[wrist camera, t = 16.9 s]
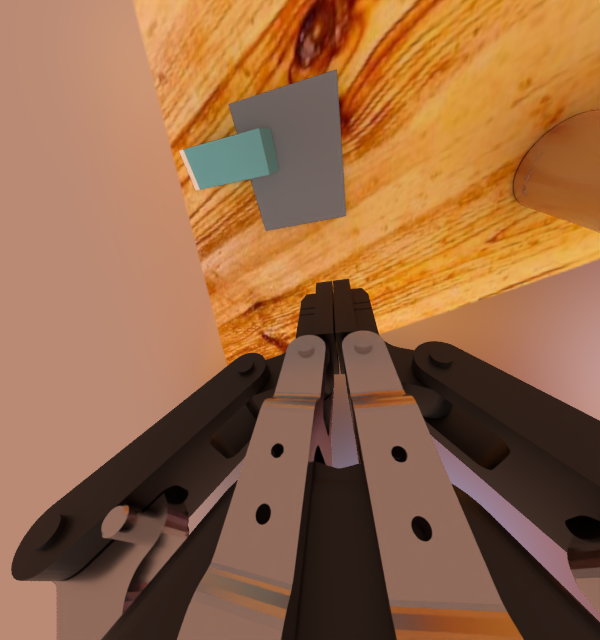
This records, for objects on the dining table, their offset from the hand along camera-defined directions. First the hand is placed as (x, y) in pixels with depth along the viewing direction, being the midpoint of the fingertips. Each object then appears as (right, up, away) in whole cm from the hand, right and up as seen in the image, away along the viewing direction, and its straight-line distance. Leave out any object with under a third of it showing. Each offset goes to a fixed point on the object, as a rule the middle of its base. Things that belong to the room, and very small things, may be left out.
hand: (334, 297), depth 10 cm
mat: (-2, +19, +17) cm, 26 cm away
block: (-5, +18, +14) cm, 24 cm away
